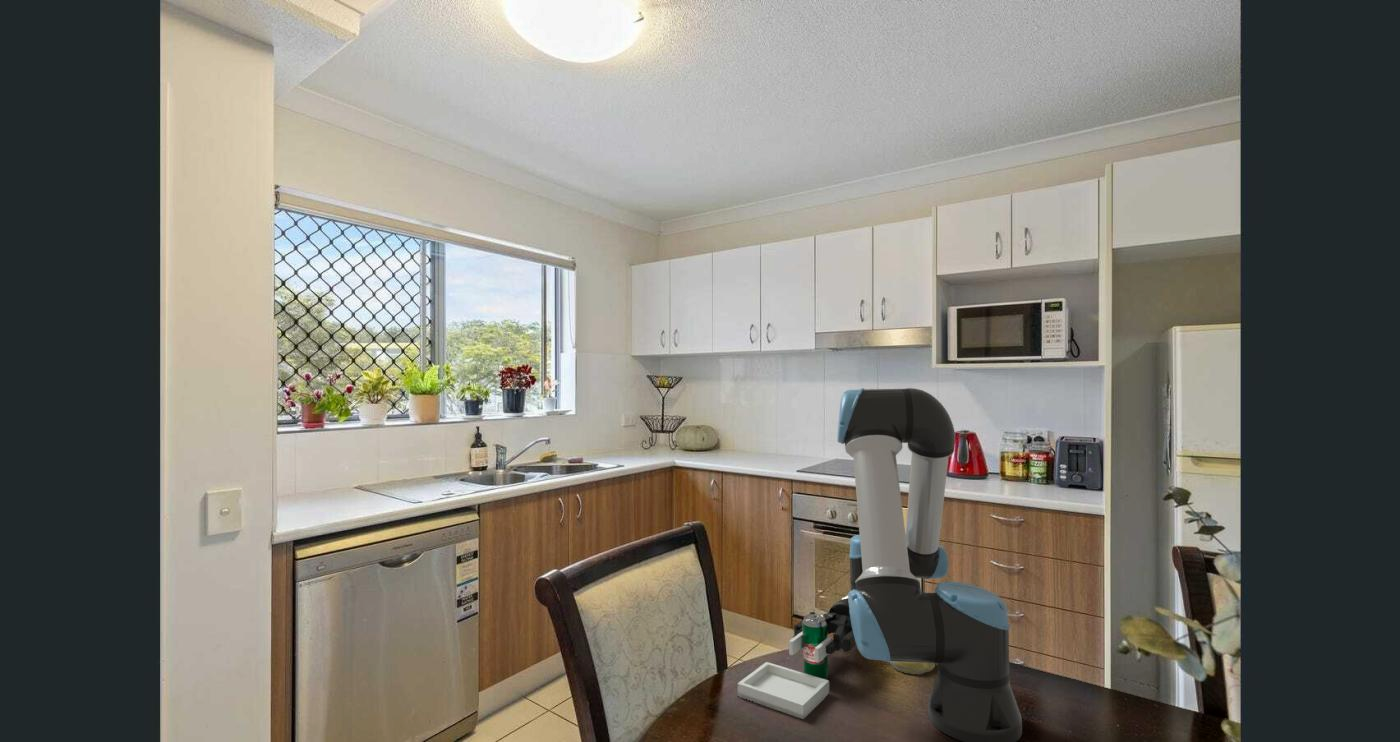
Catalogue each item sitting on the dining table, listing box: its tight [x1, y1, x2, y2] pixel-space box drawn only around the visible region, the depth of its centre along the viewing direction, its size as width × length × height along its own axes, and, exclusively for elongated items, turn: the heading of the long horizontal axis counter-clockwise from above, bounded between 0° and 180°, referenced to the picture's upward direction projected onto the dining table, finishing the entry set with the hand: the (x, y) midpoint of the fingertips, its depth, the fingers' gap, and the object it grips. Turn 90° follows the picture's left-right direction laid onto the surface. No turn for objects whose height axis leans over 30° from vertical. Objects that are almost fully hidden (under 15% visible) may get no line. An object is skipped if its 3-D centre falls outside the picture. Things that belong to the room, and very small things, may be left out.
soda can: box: [802, 613, 830, 680], centre depth 126 cm, size 5×5×12 cm
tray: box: [737, 661, 830, 720], centre depth 119 cm, size 14×11×2 cm
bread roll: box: [889, 661, 936, 675], centre depth 130 cm, size 8×9×4 cm
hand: (803, 651), depth 121 cm, fingers closed on soda can, 5 cm apart
